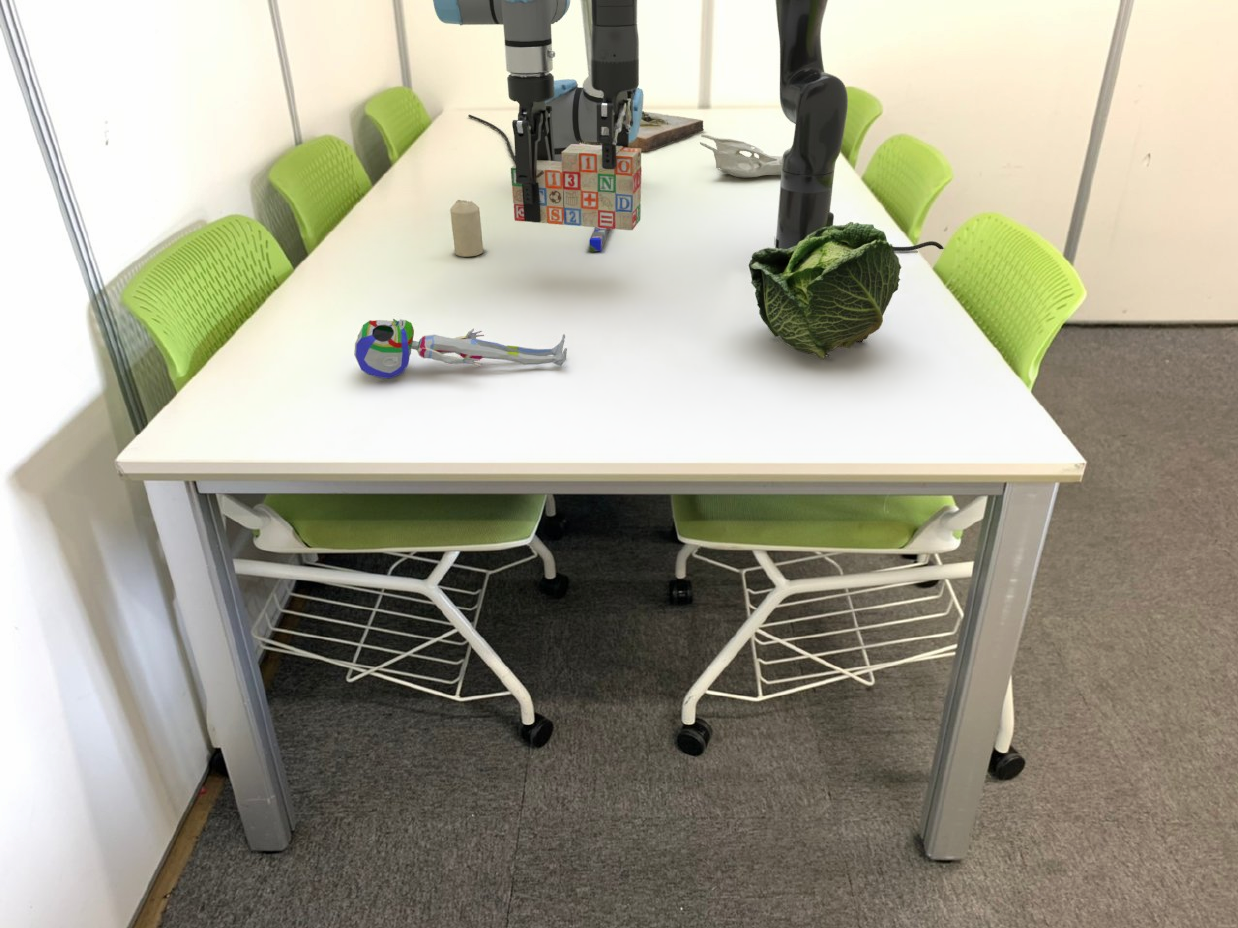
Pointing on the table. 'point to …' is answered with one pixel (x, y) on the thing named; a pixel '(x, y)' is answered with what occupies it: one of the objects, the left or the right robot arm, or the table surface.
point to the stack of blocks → (587, 189)
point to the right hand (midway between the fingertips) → (616, 162)
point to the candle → (466, 228)
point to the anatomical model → (743, 159)
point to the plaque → (663, 130)
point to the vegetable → (826, 287)
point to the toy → (435, 349)
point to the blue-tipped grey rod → (598, 238)
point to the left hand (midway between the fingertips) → (539, 215)
